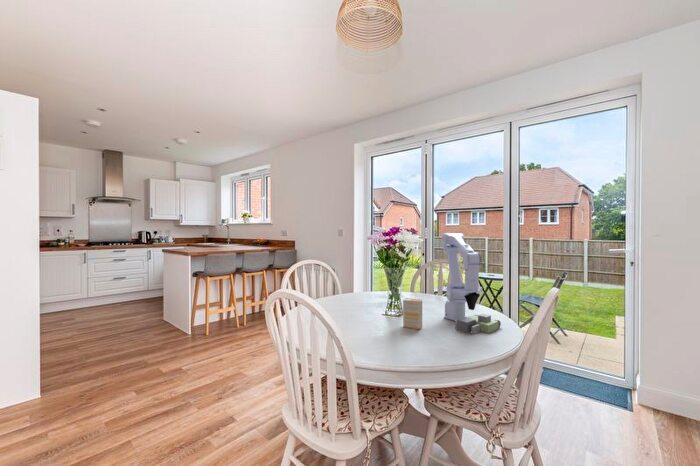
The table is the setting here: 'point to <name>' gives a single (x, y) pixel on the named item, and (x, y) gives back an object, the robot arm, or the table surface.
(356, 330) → the table surface
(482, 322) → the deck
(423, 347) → the table surface
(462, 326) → the grey block
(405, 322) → the supplement box
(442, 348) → the table surface
